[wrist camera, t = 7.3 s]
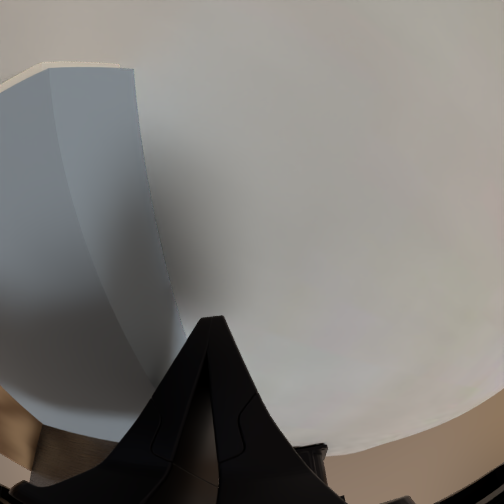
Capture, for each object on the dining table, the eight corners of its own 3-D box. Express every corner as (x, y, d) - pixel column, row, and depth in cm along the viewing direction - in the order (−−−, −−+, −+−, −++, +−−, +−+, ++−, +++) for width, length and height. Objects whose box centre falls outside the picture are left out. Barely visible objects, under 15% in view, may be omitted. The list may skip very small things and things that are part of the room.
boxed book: (199, 372, 14) (196, 449, 10) (63, 364, 14) (43, 424, 10) (136, 61, 6) (48, 53, 3) (-40, 136, 6) (-112, 180, 2)
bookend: (179, 425, 18) (175, 533, 10) (61, 414, 18) (44, 497, 11) (157, 402, 16) (147, 532, 8) (34, 391, 16) (10, 481, 8)
